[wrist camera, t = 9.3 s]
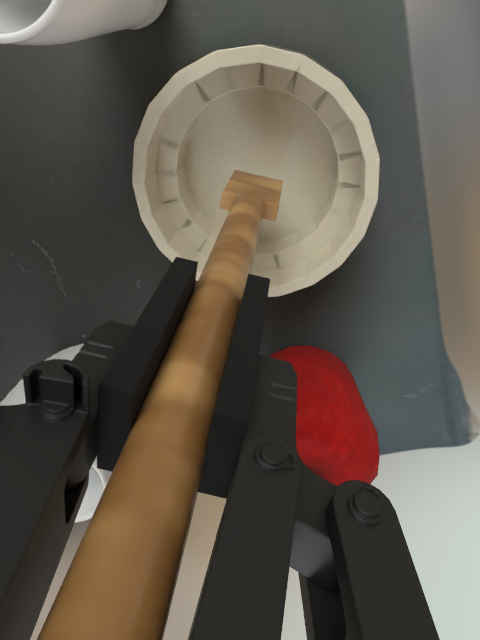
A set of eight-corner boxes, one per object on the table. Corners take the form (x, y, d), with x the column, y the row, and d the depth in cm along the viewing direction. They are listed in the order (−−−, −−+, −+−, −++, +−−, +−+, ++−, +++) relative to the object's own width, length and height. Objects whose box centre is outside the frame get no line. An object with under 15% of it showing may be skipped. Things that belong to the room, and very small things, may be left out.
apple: (235, 393, 43) (211, 521, 32) (266, 310, 37) (250, 428, 26) (337, 423, 43) (348, 559, 32) (382, 345, 38) (416, 476, 26)
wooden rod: (230, 190, 29) (-41, 732, 6) (235, 162, 28) (-65, 687, 5) (278, 201, 29) (179, 784, 6) (284, 174, 28) (196, 749, 5)
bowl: (170, 20, 27) (140, 16, 22) (400, 74, 27) (422, 82, 22) (151, 237, 35) (126, 270, 30) (329, 278, 35) (333, 318, 30)
